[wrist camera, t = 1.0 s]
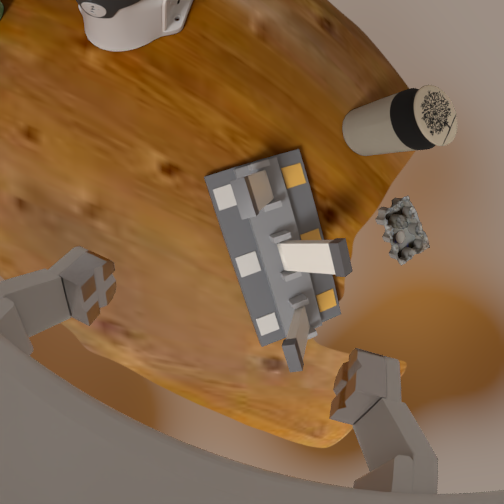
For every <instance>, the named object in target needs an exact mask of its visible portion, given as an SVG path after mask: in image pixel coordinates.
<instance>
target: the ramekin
mask: <svg viewBox="0 0 504 504" xmlns="http://www.w3.org/2000/svg"><path fill="white" fill-rule="evenodd" d="M3 11H4V7H3V4H2V3H1V1H0V19H1V17H2V15H3Z"/></svg>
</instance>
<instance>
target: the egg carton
mask: <svg viewBox="0 0 504 504" xmlns="http://www.w3.org/2000/svg"><path fill="white" fill-rule="evenodd" d="M375 220H376V222H377V224H380V225H384V227H385V232H384V235H383V236H382V237H383V240H384V241H386V242H390V243H391V245H392V247H391V250H390V252H389V256H390V257H391V258H394V259H397V260H398V262H399V264H401V265H403V264H405V263H406V262H407V261H408V260H410V259H412V256H414V254H418V253H421V252H423V251H424V250H425V249H427V248H429V247H430V246H429V241H428V239H427V235H426V233H425V232H424V231H423V229H422V224H421V222H420V220H419V218H418V215H417V212H416V210H415V208H414V206H413V205H412V203H411V202H410V199H409V196H406V197H403V198H394V199H393V200H392V205H391V208H386V207H381V208H380V209H378V216H377V218H376V219H375Z"/></svg>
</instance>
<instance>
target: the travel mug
mask: <svg viewBox="0 0 504 504" xmlns="http://www.w3.org/2000/svg"><path fill="white" fill-rule="evenodd" d="M456 132H457V116H456V112H455V109H454V106H453V104H452V102H451V100H450V99H449V97H448V96H447V95H446V94H445V93H444V92H443V91H442V90H441V89H439V88H438V87H436V86H432V85H426V86H423V87H421V88H420V89H414V88H411V89H407V90H405V91H402V92H399V93H396V94H393V95H391V96H388V97H385V98H382V99H380V100H377V101H374V102H372V103H369V104H367V105H364V106H361V107H359V108H356V109H354V110H352V111H350V112H349V113H348V114H347V115H346V117H345V119H344V121H343V135H344V139H345V141H346V143H347V144H348V146H349V147H350V148H351V149H352V150H353V151H354V152H356V153H357V154H360V155H363V156H369V155H377V154H386V153H395V152H404V151H414V150H424V149H430V148H432V147H434V146H435V145H438V146H445V145H448V144H449V143H451V142H452V141H453V139H454V137H455V135H456Z"/></svg>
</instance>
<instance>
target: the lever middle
mask: <svg viewBox="0 0 504 504" xmlns="http://www.w3.org/2000/svg"><path fill="white" fill-rule="evenodd" d="M277 247H278V250H279V253H280V257H281V260H282V264H283V267H284V270H286V271H297V272H309V273H322V274H334V275H336V276H340V277H346V276H347V275H348V274H350V273H351V272H352V267H351V262H350V257H349V253H348V248H347V243H346V239H345V238H336V239H334V240H285V241H282V242H279V243H277Z"/></svg>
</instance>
